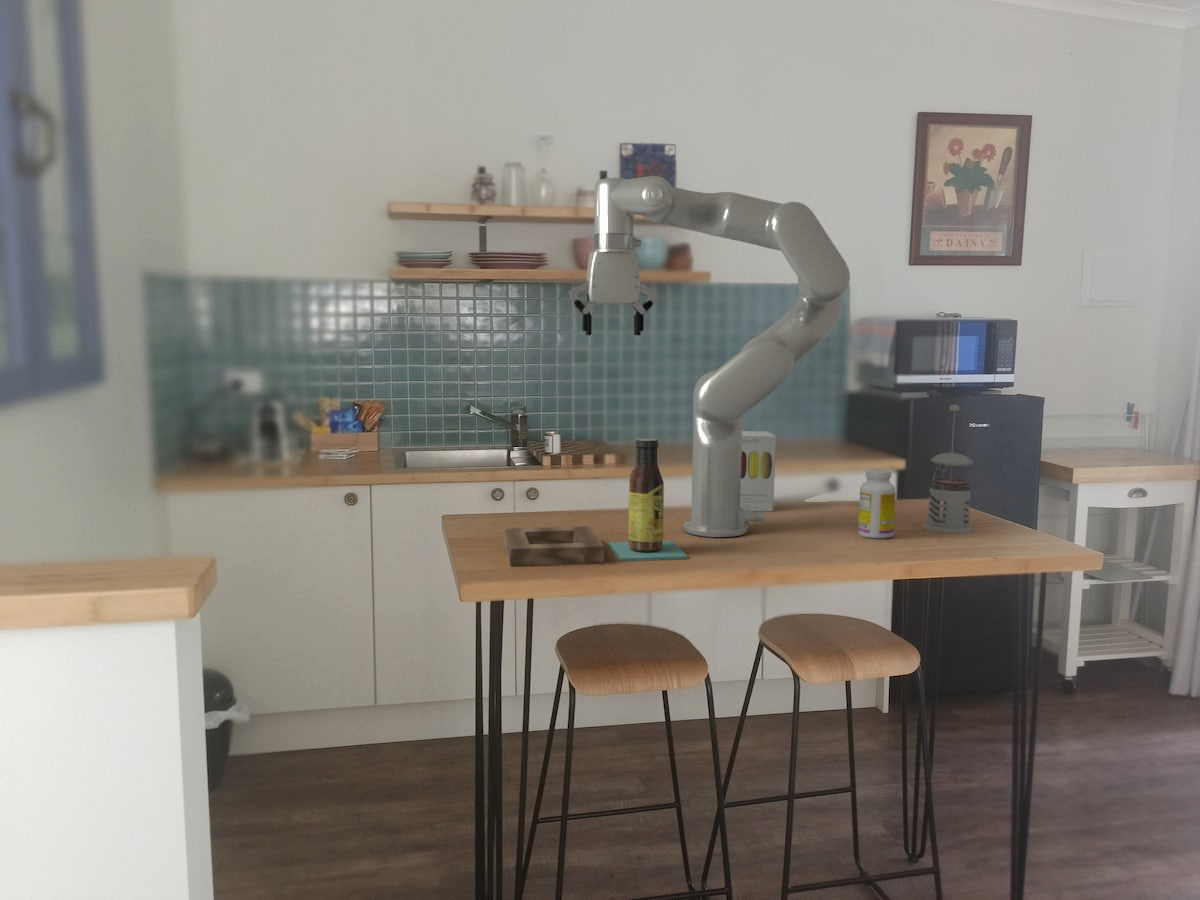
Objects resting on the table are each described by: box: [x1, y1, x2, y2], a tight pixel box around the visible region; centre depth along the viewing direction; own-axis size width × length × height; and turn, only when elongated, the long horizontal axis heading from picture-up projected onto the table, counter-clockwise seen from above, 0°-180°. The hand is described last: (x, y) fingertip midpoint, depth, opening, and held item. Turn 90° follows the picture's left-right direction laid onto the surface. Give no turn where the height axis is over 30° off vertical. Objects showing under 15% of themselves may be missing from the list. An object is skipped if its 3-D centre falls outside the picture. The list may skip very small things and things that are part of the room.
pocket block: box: [503, 525, 605, 567], centre depth 174 cm, size 16×16×3 cm
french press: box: [921, 404, 974, 534], centre depth 198 cm, size 10×12×25 cm
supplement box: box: [740, 430, 777, 513], centre depth 216 cm, size 10×9×17 cm
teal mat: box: [607, 540, 689, 562], centre depth 176 cm, size 12×12×1 cm
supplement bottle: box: [858, 468, 897, 540], centre depth 190 cm, size 7×7×13 cm
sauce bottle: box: [627, 437, 665, 552], centre depth 175 cm, size 6×6×20 cm
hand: (612, 335), depth 190 cm, fingers open, 9 cm apart
